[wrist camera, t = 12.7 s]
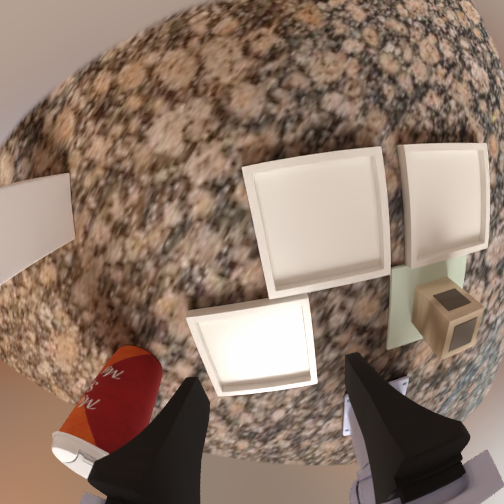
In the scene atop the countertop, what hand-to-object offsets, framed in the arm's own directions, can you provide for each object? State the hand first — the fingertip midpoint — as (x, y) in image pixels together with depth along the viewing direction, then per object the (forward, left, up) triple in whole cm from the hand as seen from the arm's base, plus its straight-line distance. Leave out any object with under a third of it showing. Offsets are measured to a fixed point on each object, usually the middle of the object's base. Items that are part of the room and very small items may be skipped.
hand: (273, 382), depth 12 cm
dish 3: (+4, -17, -10) cm, 20 cm away
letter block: (-5, -15, -10) cm, 19 cm away
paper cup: (-7, +15, -11) cm, 20 cm away
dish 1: (+4, -5, -10) cm, 12 cm away
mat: (-5, -15, -10) cm, 19 cm away
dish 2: (-6, +2, -10) cm, 12 cm away
